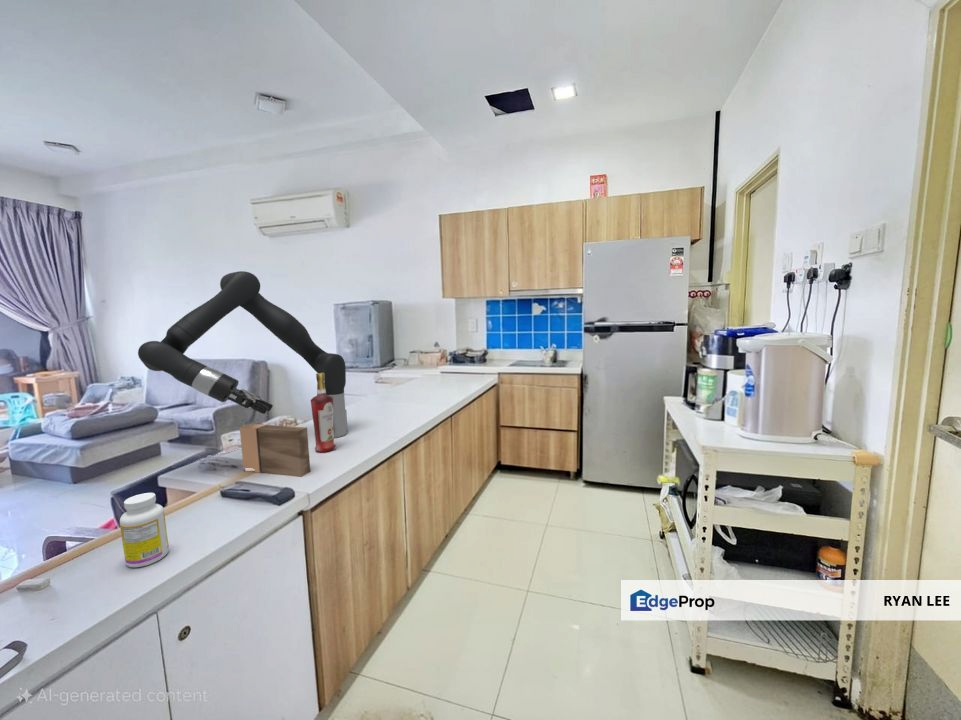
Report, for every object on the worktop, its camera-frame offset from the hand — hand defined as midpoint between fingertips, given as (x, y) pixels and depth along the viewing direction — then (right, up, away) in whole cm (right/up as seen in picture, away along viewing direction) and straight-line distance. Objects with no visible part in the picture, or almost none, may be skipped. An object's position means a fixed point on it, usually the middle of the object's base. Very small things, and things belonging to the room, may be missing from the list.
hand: (269, 409), depth 118 cm
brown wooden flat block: (+5, -20, 0) cm, 20 cm away
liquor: (+9, -17, +20) cm, 28 cm away
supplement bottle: (-2, -25, -41) cm, 48 cm away
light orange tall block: (-5, -19, +3) cm, 20 cm away
